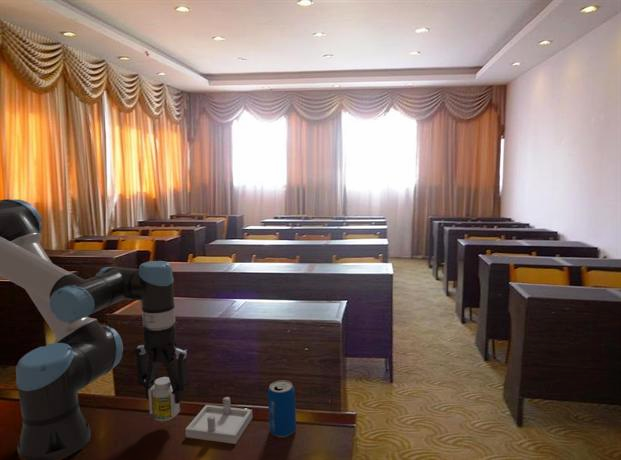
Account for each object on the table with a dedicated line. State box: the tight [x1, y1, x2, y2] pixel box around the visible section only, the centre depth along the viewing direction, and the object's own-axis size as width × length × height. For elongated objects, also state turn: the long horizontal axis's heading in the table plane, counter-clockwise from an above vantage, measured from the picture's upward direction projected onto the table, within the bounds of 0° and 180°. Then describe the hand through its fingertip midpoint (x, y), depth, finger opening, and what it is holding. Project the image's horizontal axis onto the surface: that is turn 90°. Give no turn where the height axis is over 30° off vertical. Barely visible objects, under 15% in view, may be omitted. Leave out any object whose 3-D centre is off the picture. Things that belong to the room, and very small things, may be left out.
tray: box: [185, 396, 253, 445], centre depth 113 cm, size 13×11×5 cm
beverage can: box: [267, 379, 297, 438], centre depth 110 cm, size 6×6×12 cm
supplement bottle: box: [152, 376, 174, 422], centre depth 113 cm, size 5×5×10 cm
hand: (164, 412), depth 114 cm, fingers closed on supplement bottle, 5 cm apart
